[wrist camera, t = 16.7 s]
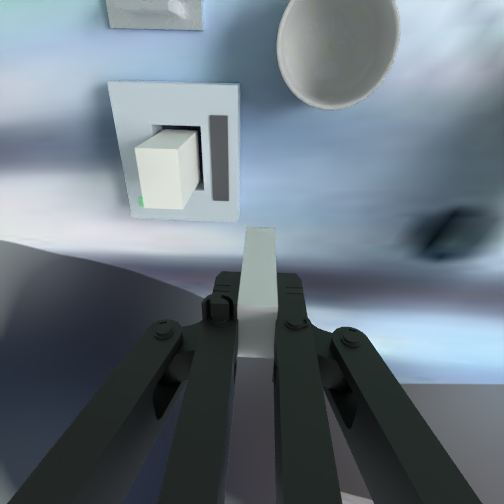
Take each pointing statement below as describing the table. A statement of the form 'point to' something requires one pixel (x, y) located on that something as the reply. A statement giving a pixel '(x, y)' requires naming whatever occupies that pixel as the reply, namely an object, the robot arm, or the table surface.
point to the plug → (168, 168)
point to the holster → (156, 14)
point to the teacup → (336, 49)
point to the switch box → (183, 114)
